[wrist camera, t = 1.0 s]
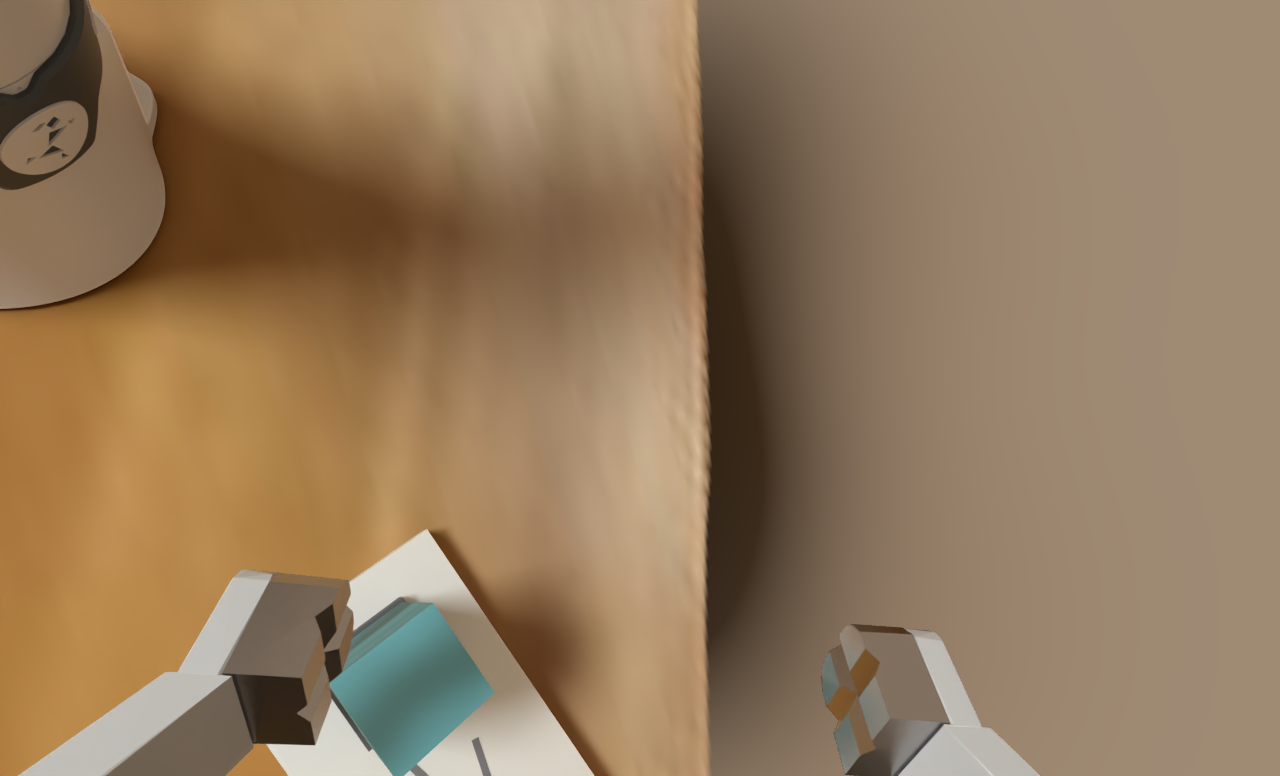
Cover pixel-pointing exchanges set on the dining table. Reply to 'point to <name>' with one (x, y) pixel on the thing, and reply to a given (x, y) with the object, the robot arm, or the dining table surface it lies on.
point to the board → (493, 734)
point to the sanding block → (407, 683)
